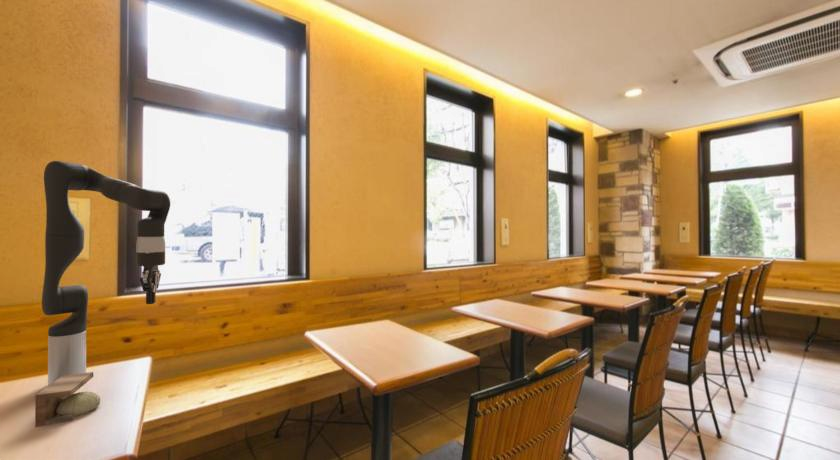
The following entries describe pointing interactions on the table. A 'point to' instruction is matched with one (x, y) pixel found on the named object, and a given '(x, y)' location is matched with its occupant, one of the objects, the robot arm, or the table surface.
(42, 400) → the shelf
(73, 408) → the sea urchin shell
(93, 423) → the table surface
